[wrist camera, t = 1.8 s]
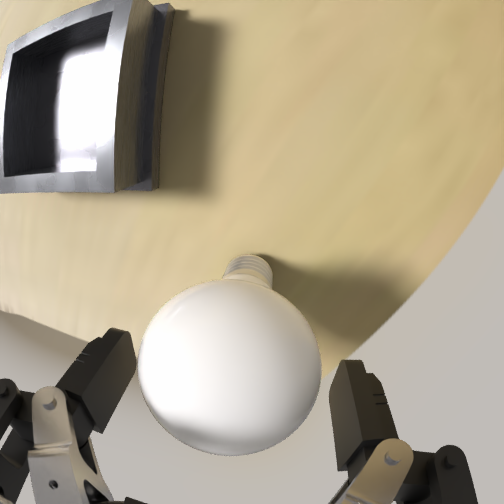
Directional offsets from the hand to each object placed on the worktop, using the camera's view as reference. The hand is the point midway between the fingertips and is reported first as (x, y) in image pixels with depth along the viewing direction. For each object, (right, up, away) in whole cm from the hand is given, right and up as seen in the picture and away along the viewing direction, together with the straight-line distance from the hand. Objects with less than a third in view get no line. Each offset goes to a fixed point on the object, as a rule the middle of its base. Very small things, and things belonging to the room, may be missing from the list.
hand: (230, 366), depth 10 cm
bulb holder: (-9, +13, +3) cm, 17 cm away
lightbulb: (+1, +3, +7) cm, 8 cm away
